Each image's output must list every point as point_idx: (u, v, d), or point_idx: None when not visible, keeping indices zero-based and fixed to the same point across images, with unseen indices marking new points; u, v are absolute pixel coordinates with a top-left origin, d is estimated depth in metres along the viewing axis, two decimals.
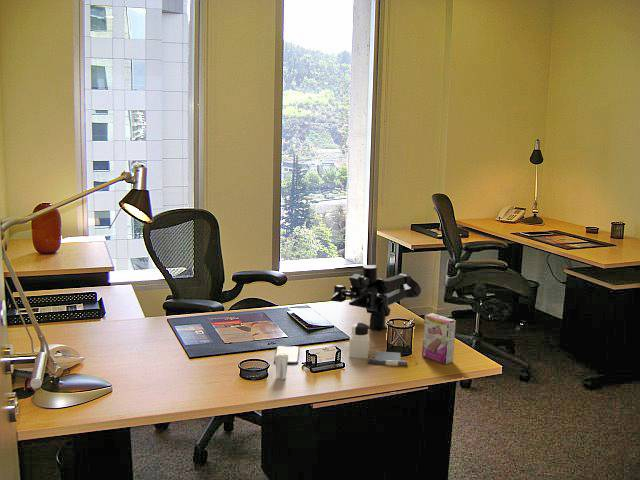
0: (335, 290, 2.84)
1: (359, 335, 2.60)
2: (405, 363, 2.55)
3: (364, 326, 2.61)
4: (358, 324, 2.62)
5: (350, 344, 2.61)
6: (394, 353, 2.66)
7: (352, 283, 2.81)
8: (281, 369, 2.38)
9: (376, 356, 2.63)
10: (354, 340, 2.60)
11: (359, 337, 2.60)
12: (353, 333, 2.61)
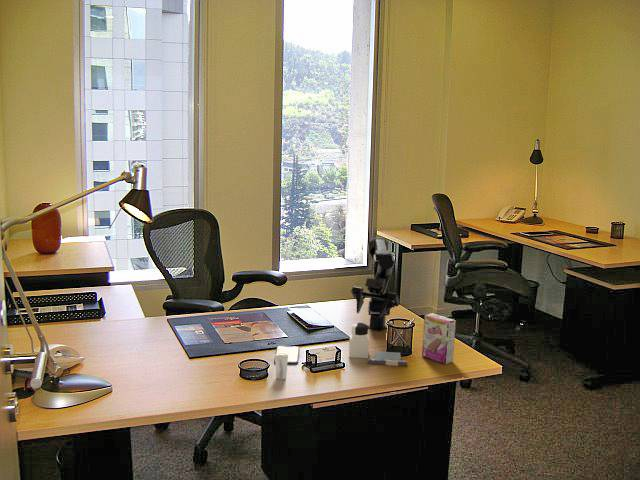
0: (354, 295, 2.74)
1: (359, 335, 2.60)
2: (405, 363, 2.55)
3: (364, 326, 2.61)
4: (358, 324, 2.62)
5: (350, 344, 2.61)
6: (394, 353, 2.66)
7: (369, 286, 2.70)
8: (281, 369, 2.38)
9: (376, 356, 2.63)
10: (354, 340, 2.60)
11: (359, 337, 2.60)
12: (353, 333, 2.61)
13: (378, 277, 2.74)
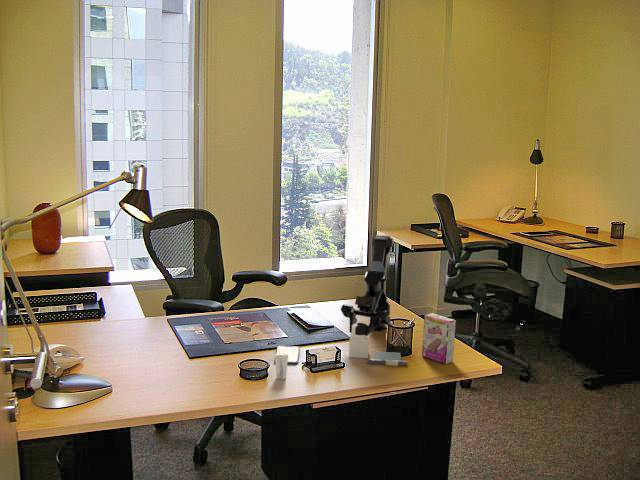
0: (347, 314, 2.67)
1: (359, 335, 2.60)
2: (405, 363, 2.55)
3: (364, 326, 2.61)
4: (358, 324, 2.62)
5: (350, 344, 2.61)
6: (394, 353, 2.66)
7: (359, 304, 2.63)
8: (281, 369, 2.38)
9: (376, 356, 2.63)
10: (354, 340, 2.60)
11: (359, 337, 2.60)
12: (353, 333, 2.61)
13: (368, 295, 2.67)
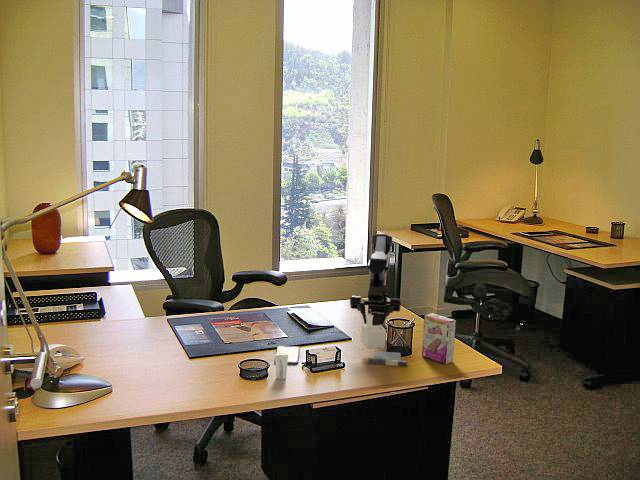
0: (357, 305, 2.62)
1: (376, 326, 2.58)
2: (405, 363, 2.55)
3: (380, 316, 2.59)
4: (373, 314, 2.60)
5: (368, 335, 2.58)
6: (394, 353, 2.66)
7: (371, 295, 2.61)
8: (281, 369, 2.38)
9: (376, 356, 2.63)
10: (372, 331, 2.58)
11: (376, 327, 2.59)
12: (370, 324, 2.58)
13: (375, 284, 2.65)
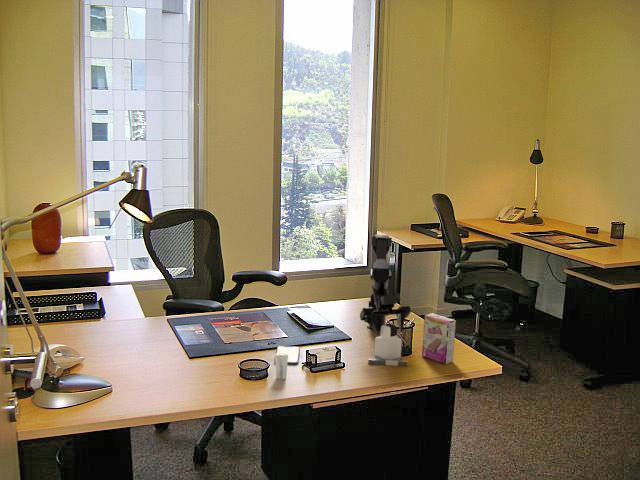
0: (367, 316, 2.60)
1: (394, 336, 2.59)
2: (405, 363, 2.55)
3: (395, 326, 2.61)
4: (388, 326, 2.60)
5: (388, 347, 2.58)
6: None
7: (384, 304, 2.61)
8: (281, 369, 2.38)
9: (376, 356, 2.63)
10: (391, 342, 2.58)
11: (393, 338, 2.59)
12: (387, 336, 2.59)
13: (382, 293, 2.65)
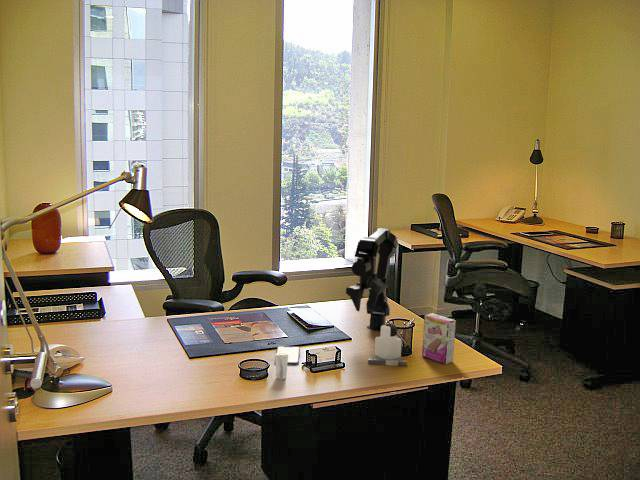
0: (356, 297, 2.70)
1: (394, 336, 2.59)
2: (405, 363, 2.55)
3: (395, 326, 2.61)
4: (388, 326, 2.60)
5: (388, 347, 2.58)
6: None
7: None
8: (281, 369, 2.38)
9: (376, 356, 2.63)
10: (391, 342, 2.58)
11: (393, 338, 2.59)
12: (387, 336, 2.59)
13: (372, 272, 2.73)
